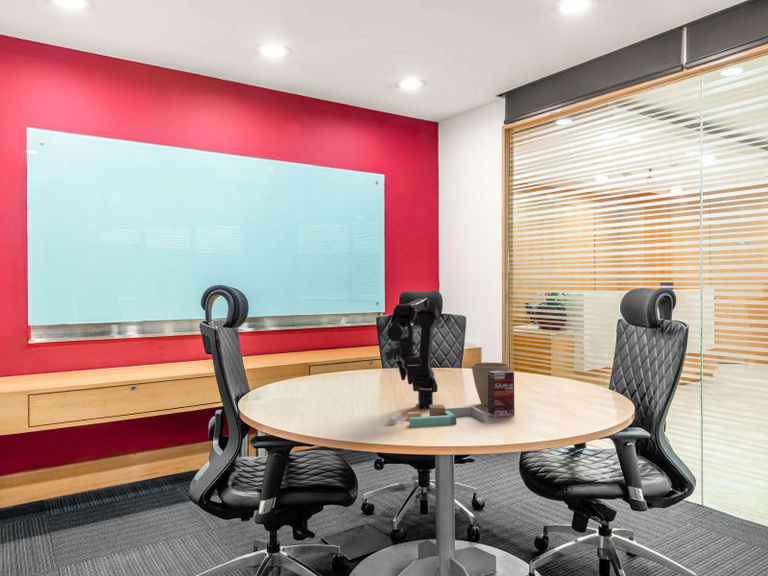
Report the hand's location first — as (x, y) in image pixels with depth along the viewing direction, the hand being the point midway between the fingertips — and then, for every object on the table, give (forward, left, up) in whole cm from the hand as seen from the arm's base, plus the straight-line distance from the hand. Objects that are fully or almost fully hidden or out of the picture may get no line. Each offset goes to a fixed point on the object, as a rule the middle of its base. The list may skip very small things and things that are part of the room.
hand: (406, 382), depth 195 cm
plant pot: (-12, +38, -13) cm, 42 cm away
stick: (+3, -5, -13) cm, 15 cm away
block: (+6, +9, -13) cm, 17 cm away
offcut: (+2, +2, -13) cm, 13 cm away
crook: (+8, +6, -13) cm, 17 cm away
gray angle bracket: (+7, +19, -13) cm, 24 cm away
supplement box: (+6, +34, -13) cm, 37 cm away
